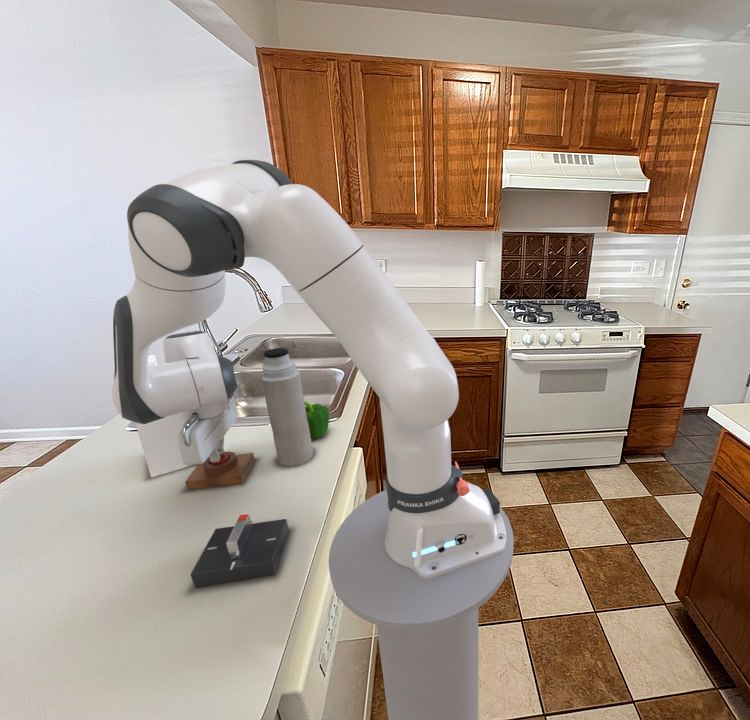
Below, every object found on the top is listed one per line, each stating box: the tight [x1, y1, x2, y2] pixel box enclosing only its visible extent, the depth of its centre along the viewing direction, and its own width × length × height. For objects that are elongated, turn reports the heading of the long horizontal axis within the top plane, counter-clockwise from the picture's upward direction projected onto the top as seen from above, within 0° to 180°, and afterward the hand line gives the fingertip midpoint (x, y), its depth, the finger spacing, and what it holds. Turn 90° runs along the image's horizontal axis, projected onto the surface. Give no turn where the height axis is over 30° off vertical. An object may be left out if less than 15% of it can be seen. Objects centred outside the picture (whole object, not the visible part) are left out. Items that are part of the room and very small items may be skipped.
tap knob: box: [226, 513, 253, 559], centre depth 68 cm, size 6×2×4 cm, turn 13°
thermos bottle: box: [260, 347, 314, 467], centre depth 93 cm, size 8×8×28 cm
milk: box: [134, 354, 210, 478], centre depth 94 cm, size 12×12×26 cm
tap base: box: [190, 518, 290, 589], centre depth 69 cm, size 12×11×3 cm
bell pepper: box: [304, 400, 330, 441], centre depth 106 cm, size 8×8×10 cm
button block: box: [184, 451, 256, 491], centre depth 91 cm, size 11×9×4 cm
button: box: [210, 454, 229, 465], centre depth 90 cm, size 4×4×2 cm
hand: (218, 458), depth 90 cm, fingers closed, pressing on button
